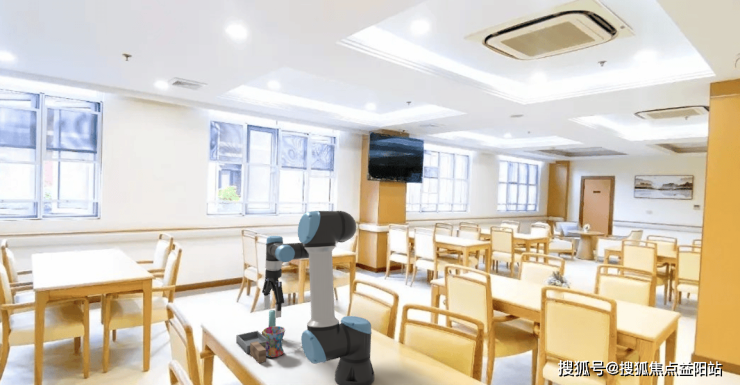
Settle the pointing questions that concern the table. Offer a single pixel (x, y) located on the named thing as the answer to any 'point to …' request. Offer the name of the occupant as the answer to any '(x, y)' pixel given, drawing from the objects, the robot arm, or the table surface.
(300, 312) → the table surface
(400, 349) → the table surface
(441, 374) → the table surface
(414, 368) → the table surface
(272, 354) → the mug
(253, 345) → the block
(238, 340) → the tray
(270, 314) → the dowel
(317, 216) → the robot arm
